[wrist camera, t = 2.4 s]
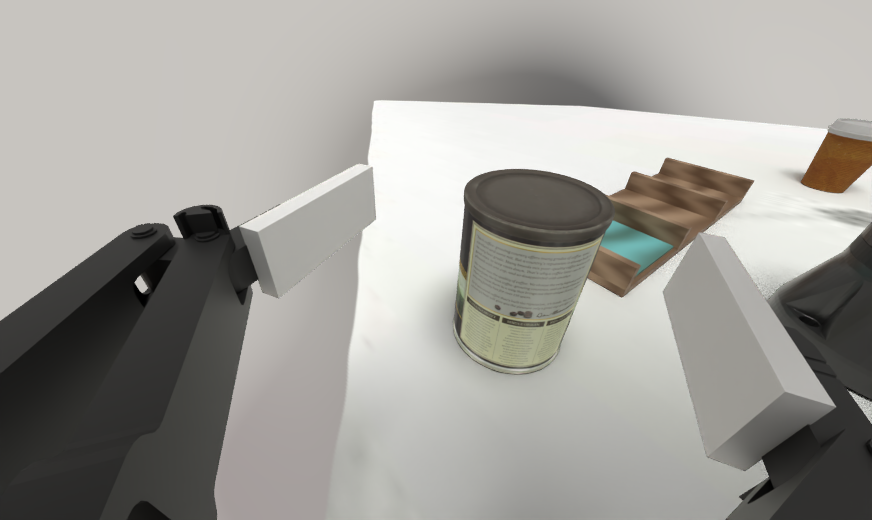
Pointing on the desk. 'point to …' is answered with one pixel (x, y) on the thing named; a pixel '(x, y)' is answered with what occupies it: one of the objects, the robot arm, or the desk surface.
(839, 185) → the disposable coffee cup
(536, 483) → the desk surface
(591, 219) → the coffee can
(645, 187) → the slot rack
